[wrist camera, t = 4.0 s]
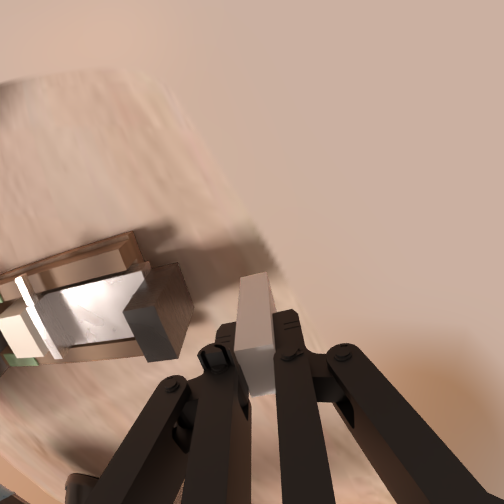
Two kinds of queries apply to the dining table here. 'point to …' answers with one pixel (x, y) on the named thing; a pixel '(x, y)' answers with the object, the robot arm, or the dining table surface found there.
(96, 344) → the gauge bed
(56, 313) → the grey sliding carriage
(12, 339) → the cream cube
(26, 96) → the dining table surface
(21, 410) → the dining table surface
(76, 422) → the dining table surface
